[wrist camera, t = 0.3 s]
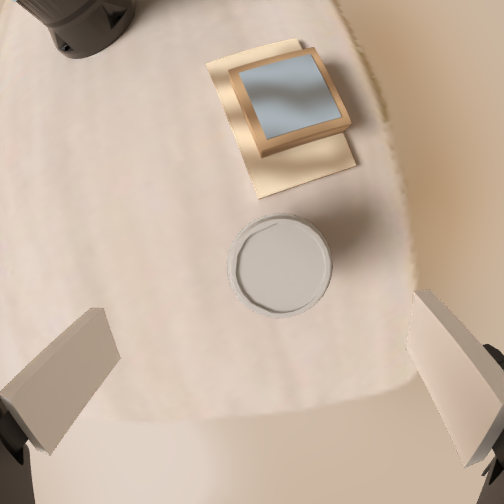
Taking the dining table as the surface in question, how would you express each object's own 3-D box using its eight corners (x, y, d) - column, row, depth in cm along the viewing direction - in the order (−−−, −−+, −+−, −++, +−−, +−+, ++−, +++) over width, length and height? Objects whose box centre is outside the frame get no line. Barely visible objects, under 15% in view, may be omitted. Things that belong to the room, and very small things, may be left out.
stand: (207, 67, 35) (200, 48, 30) (295, 42, 34) (299, 21, 29) (258, 199, 37) (258, 195, 31) (353, 167, 36) (367, 159, 31)
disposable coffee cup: (315, 219, 37) (341, 219, 25) (307, 294, 38) (327, 326, 26) (239, 212, 37) (230, 207, 25) (232, 288, 38) (221, 317, 26)
